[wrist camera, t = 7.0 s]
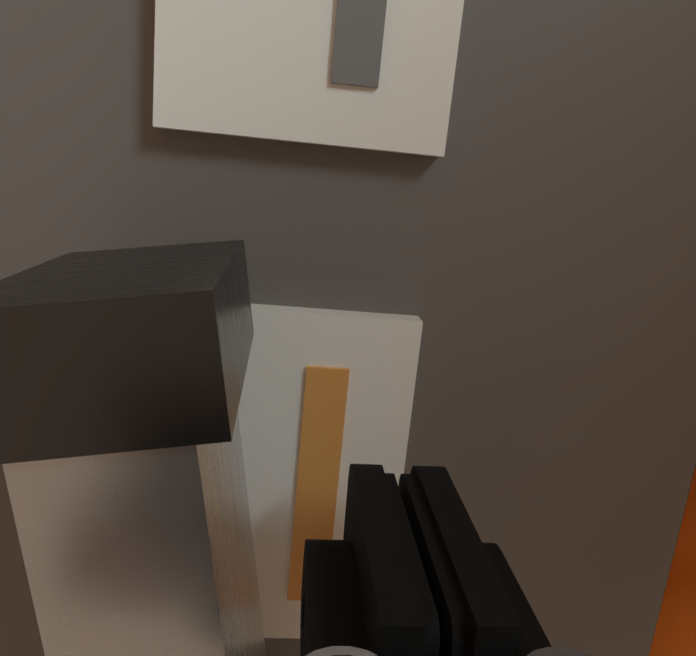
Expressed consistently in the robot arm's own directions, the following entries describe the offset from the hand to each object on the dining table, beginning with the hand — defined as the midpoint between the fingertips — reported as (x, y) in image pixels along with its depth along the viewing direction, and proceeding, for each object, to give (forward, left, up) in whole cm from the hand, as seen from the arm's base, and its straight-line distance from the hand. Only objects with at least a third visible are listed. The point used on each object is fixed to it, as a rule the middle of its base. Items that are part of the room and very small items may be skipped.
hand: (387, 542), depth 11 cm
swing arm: (+3, -3, -2) cm, 5 cm away
